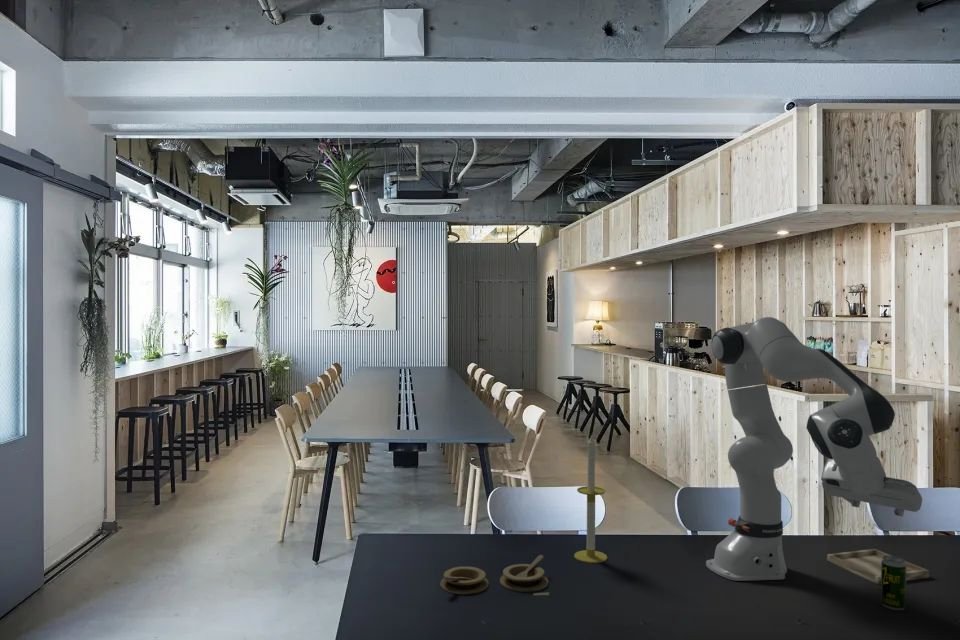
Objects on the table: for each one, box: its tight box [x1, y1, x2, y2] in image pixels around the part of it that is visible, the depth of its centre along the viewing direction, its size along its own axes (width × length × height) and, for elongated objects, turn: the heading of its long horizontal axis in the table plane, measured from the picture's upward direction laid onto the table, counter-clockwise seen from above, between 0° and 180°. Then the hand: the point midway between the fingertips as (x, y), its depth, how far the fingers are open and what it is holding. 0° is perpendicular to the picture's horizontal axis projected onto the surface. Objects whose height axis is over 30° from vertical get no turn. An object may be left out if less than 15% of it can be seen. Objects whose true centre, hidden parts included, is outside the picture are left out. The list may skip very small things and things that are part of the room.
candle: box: [573, 433, 608, 564], centre depth 203 cm, size 10×10×38 cm
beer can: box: [880, 555, 907, 611], centre depth 170 cm, size 5×5×12 cm
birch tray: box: [826, 548, 930, 585], centre depth 194 cm, size 18×18×2 cm
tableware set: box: [439, 554, 551, 596], centre depth 183 cm, size 30×20×6 cm, turn 97°
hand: (877, 509), depth 161 cm, fingers open, 8 cm apart
